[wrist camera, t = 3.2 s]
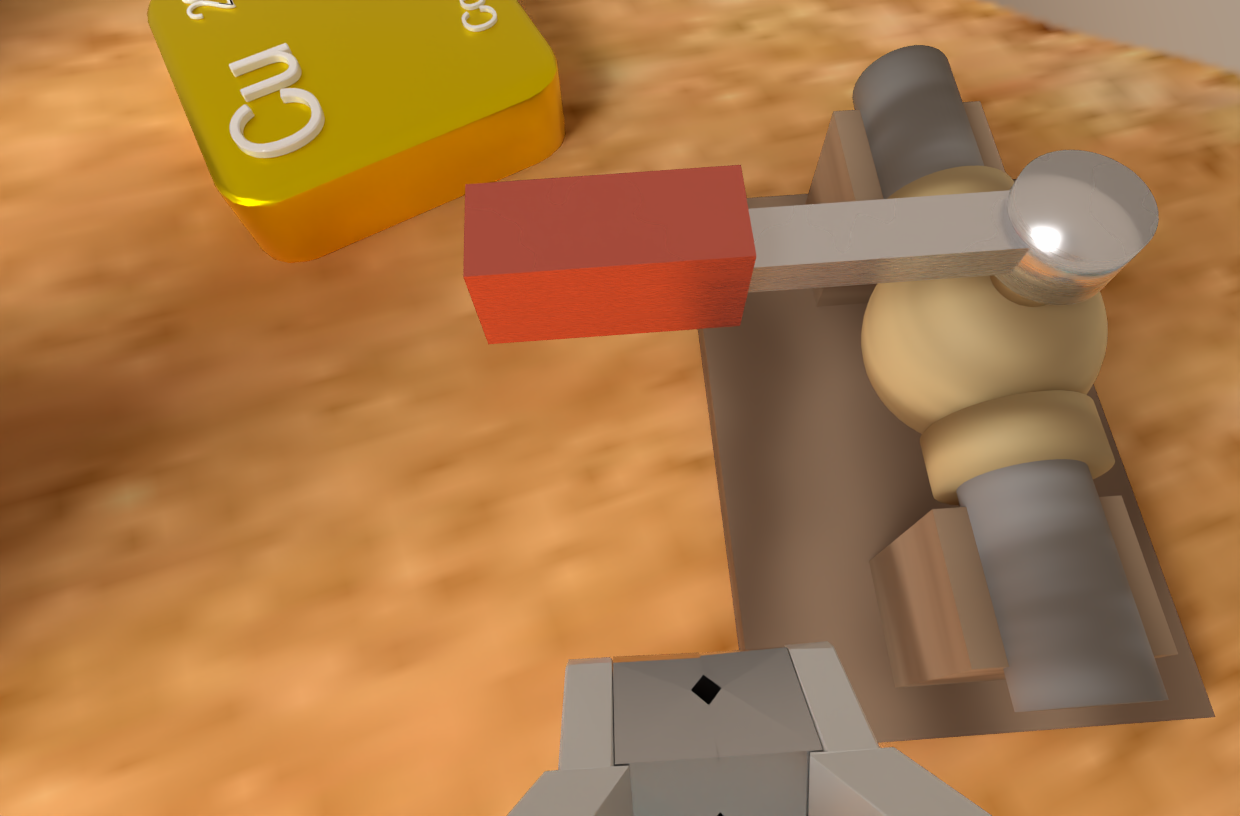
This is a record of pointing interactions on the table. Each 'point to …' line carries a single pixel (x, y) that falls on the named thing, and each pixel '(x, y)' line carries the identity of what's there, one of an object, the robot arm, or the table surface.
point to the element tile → (356, 107)
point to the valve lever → (778, 244)
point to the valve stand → (937, 467)
